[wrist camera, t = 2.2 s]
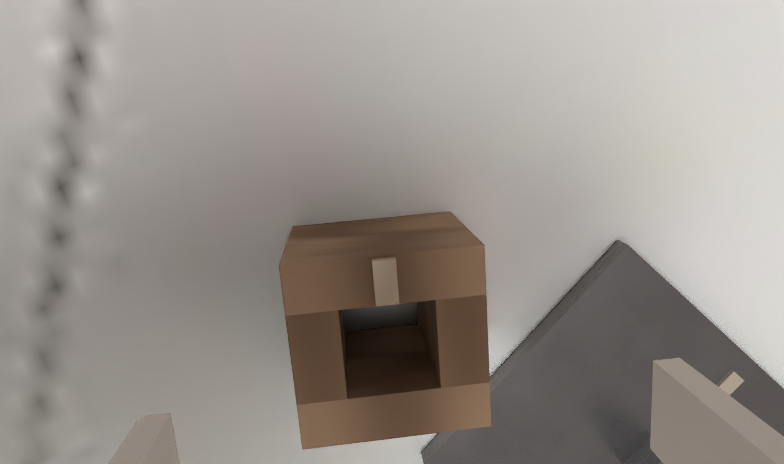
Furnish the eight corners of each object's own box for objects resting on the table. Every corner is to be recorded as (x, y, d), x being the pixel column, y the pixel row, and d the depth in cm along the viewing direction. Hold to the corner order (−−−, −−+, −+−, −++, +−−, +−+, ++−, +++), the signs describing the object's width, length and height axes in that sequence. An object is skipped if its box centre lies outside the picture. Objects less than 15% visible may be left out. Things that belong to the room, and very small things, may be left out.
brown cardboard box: (310, 371, 26) (302, 454, 20) (293, 226, 24) (277, 267, 18) (457, 355, 26) (493, 431, 20) (450, 211, 25) (486, 247, 19)
